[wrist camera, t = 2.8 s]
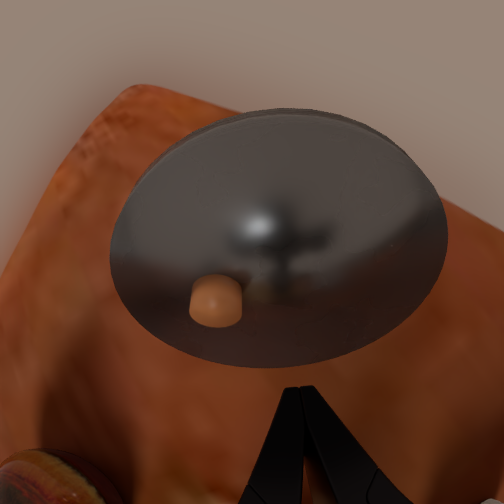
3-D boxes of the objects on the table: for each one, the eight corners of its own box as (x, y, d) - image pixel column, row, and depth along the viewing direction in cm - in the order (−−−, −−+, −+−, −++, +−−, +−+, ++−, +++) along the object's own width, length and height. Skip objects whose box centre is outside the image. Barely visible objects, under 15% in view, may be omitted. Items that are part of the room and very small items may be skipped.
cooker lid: (389, 335, 16) (398, 368, 15) (170, 352, 17) (166, 386, 15) (470, 121, 7) (510, 152, 6) (69, 141, 8) (34, 177, 6)
